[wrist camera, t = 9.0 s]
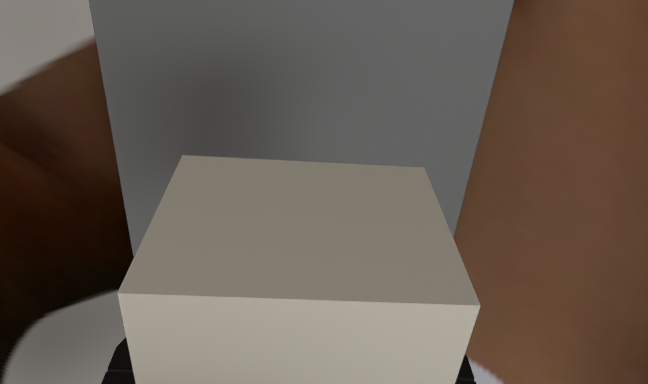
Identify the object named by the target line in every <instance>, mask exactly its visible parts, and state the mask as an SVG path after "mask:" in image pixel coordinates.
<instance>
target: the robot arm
mask: <svg viewBox="0 0 648 384" xmlns="http://www.w3.org/2000/svg"><path fill="white" fill-rule="evenodd" d="M101 384H136V383H135V378H134V373H133V368H132V363H131V358H130V353H129V348H128V343H127V338H125V339H124V340H123V341H122V342H121V343H120V344H119V345H118V346H117V347H116V350H115V352H114V354H113V357H112V359H111V362H110V364H109V366H108V371H107V372H106V374H105V376H104V379H103V381H102V383H101ZM455 384H476V382H474V376H473V373H472V370H471V367H470V364H469V361H468V358H467V356H466V355H464V358H463V361H462V364H461V367H460V370H459V373H458V376H457V379H456V382H455Z"/></svg>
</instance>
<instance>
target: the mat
mask: <svg viewBox="0 0 648 384" xmlns="http://www.w3.org/2000/svg"><path fill="white" fill-rule="evenodd" d="M89 3H90V10H91V15H92V21H93V27H94V33H95V38H96V44H97V50H98V56H99V61H100V67H101V73H102V79H103V84H104V90H105V96H106V102H107V107H108V113H109V119H110V125H111V130H112V136H113V142H114V148H115V153H116V159H117V165H118V171H119V176H120V182H121V188H122V194H123V199H124V205H125V211H126V217H127V222H128V228H129V234H130V240H131V245H132V251H133V256H134V257H135V255H136V253H137V250H138V248H139V246H140V244H141V242H142V240H143V238H144V236H145V233H146V231H147V229H148V227H149V225H150V223H151V221H152V219H153V216H154V214H155V212H156V210H157V208H158V206H159V204H160V202H161V199H162V197H163V195H164V193H165V191H166V189H167V187H168V185H169V182H170V180H171V178H172V176H173V174H174V172H175V170H176V168H177V165H178V163H179V161H180V159H181V157H182V155H189V156H209V157H229V158H248V159H268V160H288V161H307V162H327V163H346V164H366V165H386V166H405V167H424V168H425V170H426V173H427V175H428V178H429V180H430V183H431V185H432V188H433V190H434V193H435V195H436V197H437V200H438V202H439V205H440V207H441V210H442V212H443V215H444V217H445V220H446V222H447V224H448V227H449V229H450V232H451V234H452V237H454V233H455V230H456V226H457V222H458V218H459V214H460V210H461V206H462V202H463V198H464V194H465V191H466V187H467V183H468V179H469V175H470V171H471V167H472V163H473V159H474V155H475V151H476V148H477V144H478V140H479V136H480V132H481V128H482V124H483V120H484V116H485V112H486V108H487V105H488V101H489V97H490V93H491V89H492V85H493V81H494V77H495V73H496V69H497V66H498V62H499V58H500V54H501V50H502V46H503V42H504V38H505V34H506V30H507V26H508V23H509V19H510V15H511V11H512V7H513V3H514V0H89Z"/></svg>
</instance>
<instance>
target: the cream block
mask: <svg viewBox="0 0 648 384" xmlns="http://www.w3.org/2000/svg"><path fill="white" fill-rule="evenodd" d="M117 294H118V299H119V304H120V309H121V314H122V318H123V323H124V328H125V333H126V338H127V343H128V348H129V353H130V358H131V363H132V368H133V373H134V378H135V383H136V384H455V382H456V379H457V376H458V373H459V370H460V367H461V364H462V361H463V358H464V355H465V352H466V349H467V345H468V342H469V339H470V336H471V333H472V330H473V327H474V324H475V321H476V318H477V315H478V312H479V309H480V303H479V301H478V298H477V296H476V293H475V291H474V288H473V286H472V283H471V281H470V279H469V276H468V274H467V271H466V269H465V266H464V264H463V261H462V259H461V256H460V254H459V252H458V249H457V247H456V244H455V242H454V239H453V237H452V234H451V232H450V229H449V227H448V224H447V222H446V220H445V217H444V215H443V212H442V210H441V207H440V205H439V202H438V200H437V197H436V195H435V193H434V190H433V188H432V185H431V183H430V180H429V178H428V175H427V173H426V170H425V168H424V167H405V166H386V165H366V164H346V163H327V162H307V161H288V160H268V159H248V158H229V157H209V156H189V155H182V157H181V159H180V161H179V163H178V165H177V168H176V170H175V172H174V174H173V176H172V178H171V180H170V182H169V185H168V187H167V189H166V191H165V193H164V195H163V197H162V199H161V202H160V204H159V206H158V208H157V210H156V212H155V214H154V216H153V219H152V221H151V223H150V225H149V227H148V229H147V231H146V233H145V236H144V238H143V240H142V242H141V244H140V246H139V248H138V250H137V253H136V255H135V257H134V259H133V261H132V263H131V265H130V267H129V270H128V272H127V274H126V276H125V278H124V280H123V282H122V284H121V287H120V289H119V291H118V293H117Z"/></svg>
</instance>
